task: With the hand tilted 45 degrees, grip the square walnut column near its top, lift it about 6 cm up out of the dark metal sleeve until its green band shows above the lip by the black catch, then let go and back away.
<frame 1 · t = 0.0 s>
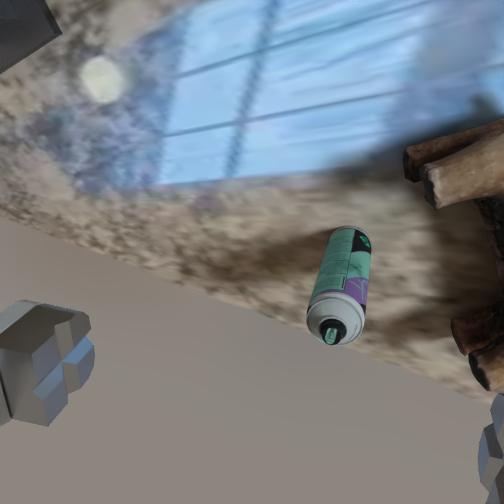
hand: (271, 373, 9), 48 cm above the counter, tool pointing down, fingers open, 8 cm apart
spray can: (349, 245, 60), on the counter
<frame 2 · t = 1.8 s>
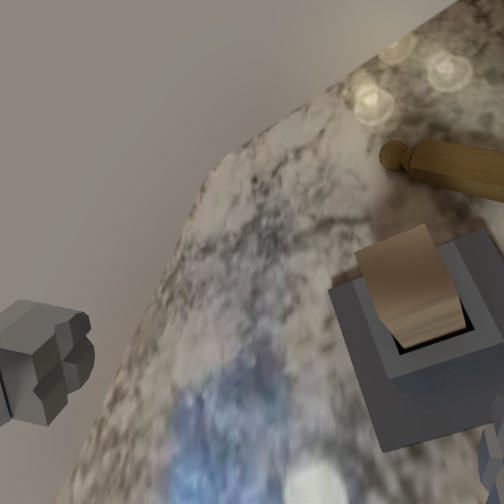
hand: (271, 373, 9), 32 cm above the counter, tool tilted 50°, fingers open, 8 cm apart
column: (421, 308, 31), point 9 cm above the counter, slide at 0.0 cm
stand: (437, 339, 39), on the counter
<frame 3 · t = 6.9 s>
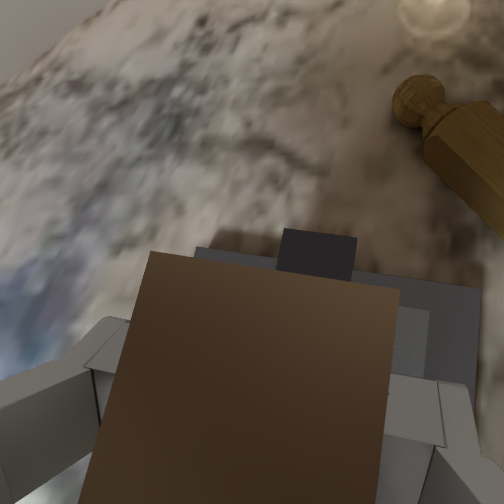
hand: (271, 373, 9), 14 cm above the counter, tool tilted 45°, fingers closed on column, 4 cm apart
column: (289, 409, 14), point 9 cm above the counter, slide at 0.0 cm, touching gripper
stand: (306, 413, 23), on the counter
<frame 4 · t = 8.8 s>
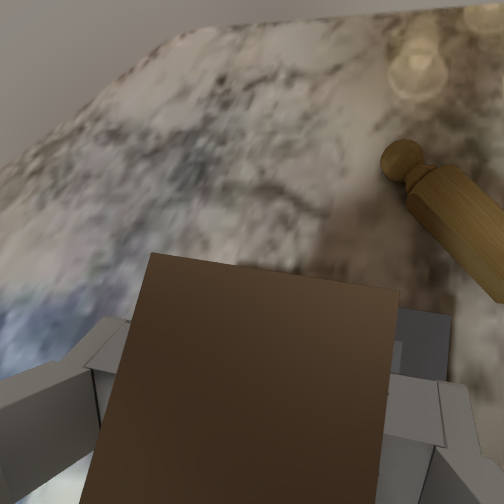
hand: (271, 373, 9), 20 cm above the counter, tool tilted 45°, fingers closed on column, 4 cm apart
column: (288, 410, 14), point 15 cm above the counter, slide at 5.9 cm, touching gripper
stand: (312, 414, 28), on the counter
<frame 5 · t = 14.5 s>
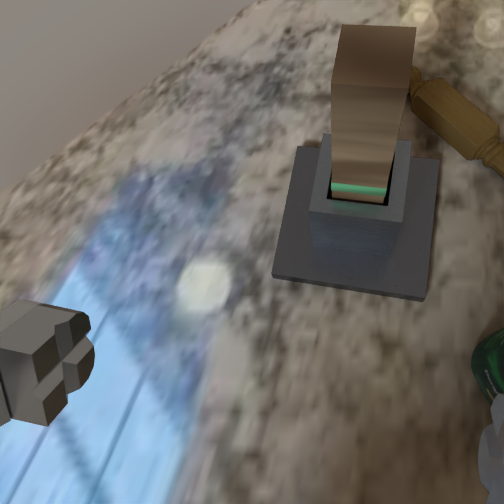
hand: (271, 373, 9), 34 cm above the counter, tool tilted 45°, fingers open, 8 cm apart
column: (365, 134, 32), point 15 cm above the counter, slide at 5.9 cm
stand: (355, 221, 47), on the counter
tap handle: (503, 175, 46), on the counter
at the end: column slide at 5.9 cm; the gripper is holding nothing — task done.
